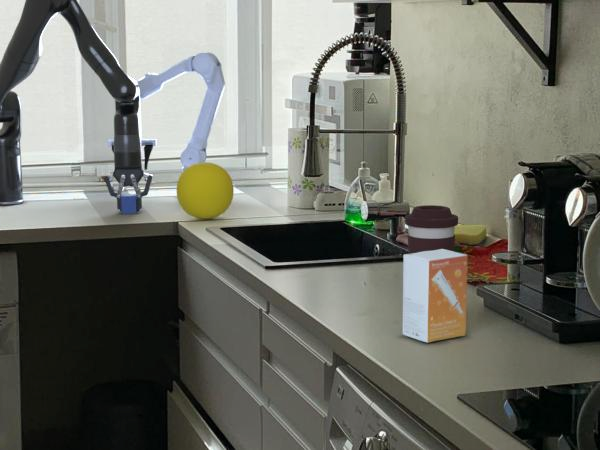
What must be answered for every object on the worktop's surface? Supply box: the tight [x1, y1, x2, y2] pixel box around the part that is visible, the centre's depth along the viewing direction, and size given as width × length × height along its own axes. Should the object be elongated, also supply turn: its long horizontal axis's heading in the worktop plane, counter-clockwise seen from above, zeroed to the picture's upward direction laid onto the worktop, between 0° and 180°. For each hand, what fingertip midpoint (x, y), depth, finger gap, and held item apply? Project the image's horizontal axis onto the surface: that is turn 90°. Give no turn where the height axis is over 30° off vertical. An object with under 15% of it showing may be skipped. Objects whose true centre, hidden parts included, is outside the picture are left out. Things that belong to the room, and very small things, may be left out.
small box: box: [402, 249, 469, 344], centre depth 163 cm, size 8×6×13 cm
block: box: [121, 193, 139, 215], centre depth 292 cm, size 4×4×5 cm
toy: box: [176, 161, 235, 220], centre depth 278 cm, size 15×15×15 cm
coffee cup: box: [404, 204, 459, 254], centre depth 197 cm, size 10×10×15 cm
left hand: (129, 210), depth 292 cm, fingers closed on block, 4 cm apart
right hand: (133, 169), depth 321 cm, fingers open, 7 cm apart
